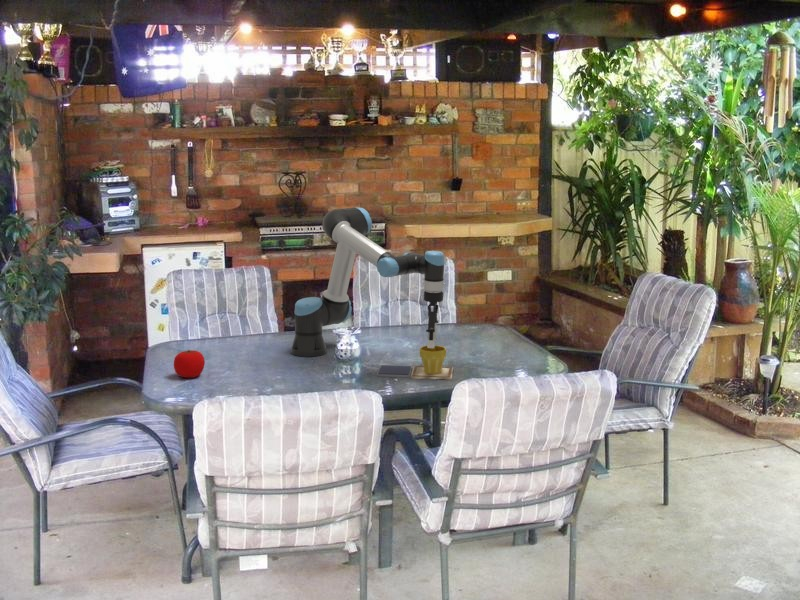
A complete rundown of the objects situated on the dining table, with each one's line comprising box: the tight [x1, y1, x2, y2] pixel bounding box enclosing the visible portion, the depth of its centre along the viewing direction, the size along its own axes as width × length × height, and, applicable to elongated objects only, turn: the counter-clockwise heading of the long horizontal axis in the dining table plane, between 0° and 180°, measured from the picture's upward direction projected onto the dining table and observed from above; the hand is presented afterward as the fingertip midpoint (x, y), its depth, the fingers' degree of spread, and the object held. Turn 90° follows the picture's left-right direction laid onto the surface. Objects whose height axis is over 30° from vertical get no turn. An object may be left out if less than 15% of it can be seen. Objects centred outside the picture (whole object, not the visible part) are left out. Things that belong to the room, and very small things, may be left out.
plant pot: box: [419, 345, 447, 374], centre depth 360 cm, size 10×10×10 cm
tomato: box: [173, 350, 206, 379], centre depth 354 cm, size 12×12×10 cm
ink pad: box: [376, 364, 413, 379], centre depth 363 cm, size 13×13×1 cm
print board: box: [410, 365, 454, 381], centre depth 361 cm, size 16×16×1 cm
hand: (431, 343), depth 359 cm, fingers open, 13 cm apart
